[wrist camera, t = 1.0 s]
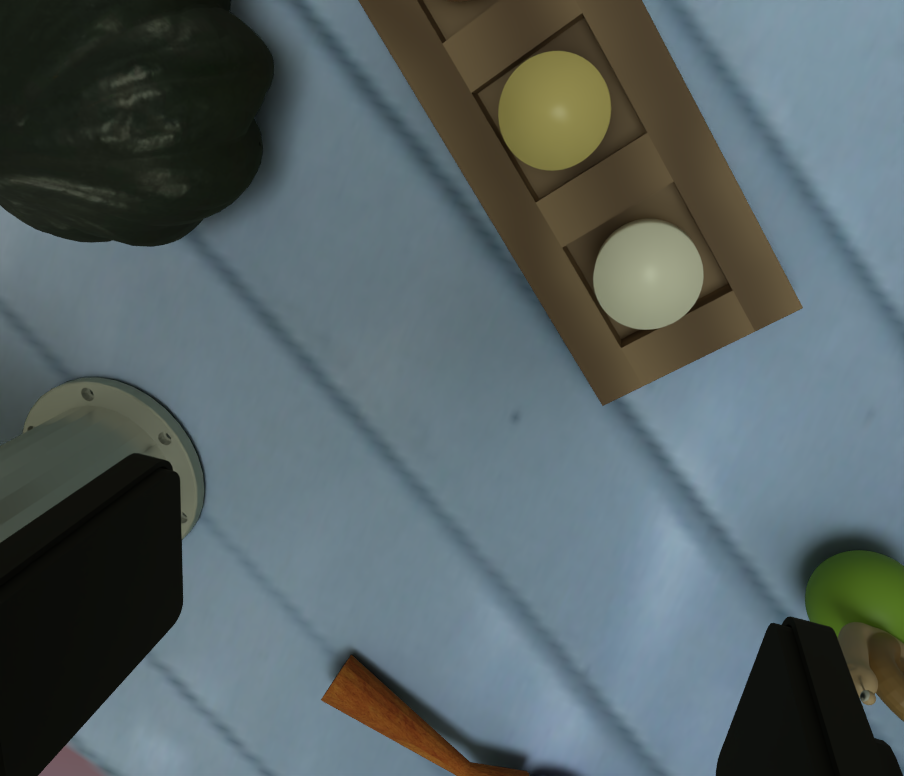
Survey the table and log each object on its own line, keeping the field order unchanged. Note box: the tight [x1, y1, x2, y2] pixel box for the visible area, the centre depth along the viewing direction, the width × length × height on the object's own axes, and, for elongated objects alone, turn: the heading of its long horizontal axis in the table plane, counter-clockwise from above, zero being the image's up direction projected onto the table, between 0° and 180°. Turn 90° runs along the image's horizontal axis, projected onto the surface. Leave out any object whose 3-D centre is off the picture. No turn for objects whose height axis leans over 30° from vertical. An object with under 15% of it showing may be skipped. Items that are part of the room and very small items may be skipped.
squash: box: [0, 0, 274, 247], centre depth 32 cm, size 14×15×15 cm
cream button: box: [593, 219, 703, 330], centre depth 32 cm, size 5×5×2 cm
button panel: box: [358, 0, 803, 406], centre depth 33 cm, size 10×26×2 cm, turn 33°
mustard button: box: [498, 51, 612, 171], centre depth 31 cm, size 5×5×2 cm
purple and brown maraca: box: [321, 655, 529, 776], centre depth 47 cm, size 6×6×20 cm
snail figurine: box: [805, 550, 904, 721], centre depth 33 cm, size 5×6×12 cm
